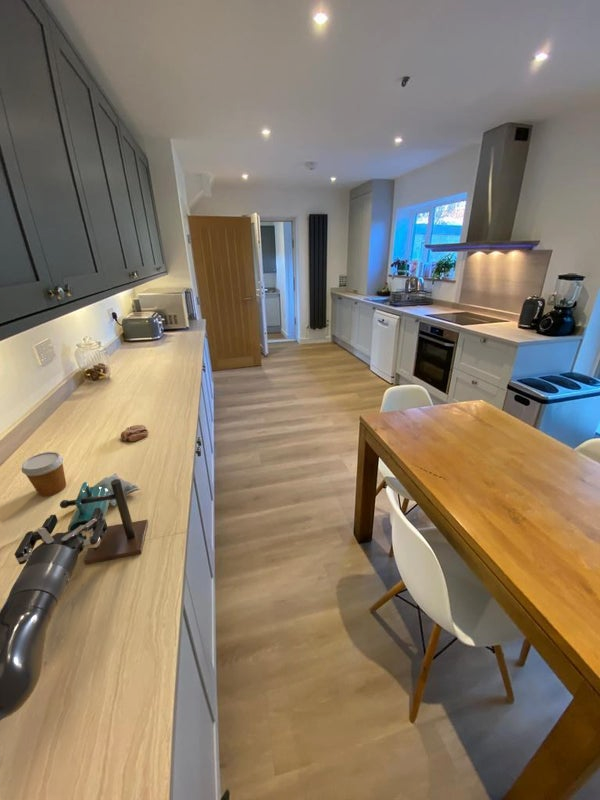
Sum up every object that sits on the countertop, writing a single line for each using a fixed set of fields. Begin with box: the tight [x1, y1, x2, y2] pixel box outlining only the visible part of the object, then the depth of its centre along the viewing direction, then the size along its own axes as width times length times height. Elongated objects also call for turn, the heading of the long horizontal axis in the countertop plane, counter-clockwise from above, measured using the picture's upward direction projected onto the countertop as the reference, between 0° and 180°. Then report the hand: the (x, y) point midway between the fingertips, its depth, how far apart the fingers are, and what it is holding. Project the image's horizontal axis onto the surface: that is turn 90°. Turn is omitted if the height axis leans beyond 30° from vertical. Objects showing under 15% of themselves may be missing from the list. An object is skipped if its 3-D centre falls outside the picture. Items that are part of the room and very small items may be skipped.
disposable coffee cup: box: [21, 451, 67, 498], centre depth 93 cm, size 10×10×12 cm
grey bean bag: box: [93, 473, 141, 507], centre depth 94 cm, size 9×12×5 cm
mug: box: [67, 481, 111, 538], centre depth 76 cm, size 11×7×10 cm
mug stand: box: [59, 479, 149, 565], centre depth 76 cm, size 15×10×18 cm, turn 105°
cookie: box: [120, 424, 149, 442], centre depth 126 cm, size 10×11×3 cm
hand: (76, 514), depth 70 cm, fingers open, 8 cm apart
